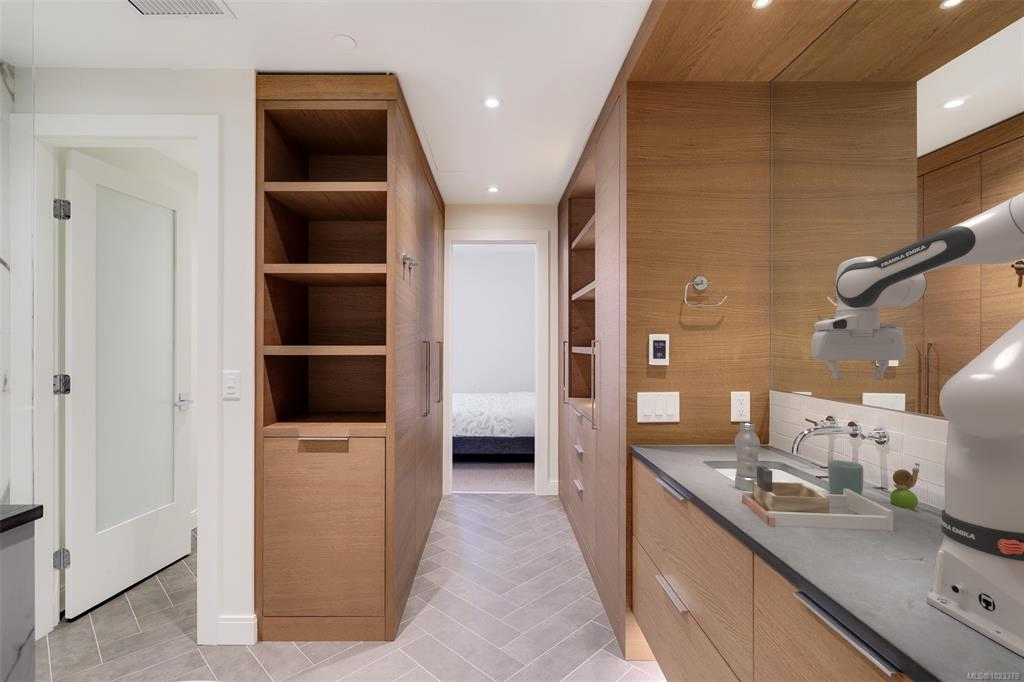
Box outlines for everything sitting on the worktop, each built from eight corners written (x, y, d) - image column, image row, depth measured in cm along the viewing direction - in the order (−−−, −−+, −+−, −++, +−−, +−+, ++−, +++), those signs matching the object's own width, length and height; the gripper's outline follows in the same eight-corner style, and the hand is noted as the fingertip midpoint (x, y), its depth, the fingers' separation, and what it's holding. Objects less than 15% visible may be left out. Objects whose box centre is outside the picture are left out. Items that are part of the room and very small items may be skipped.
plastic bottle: (764, 496, 127) (764, 425, 127) (738, 495, 128) (737, 424, 129) (756, 489, 133) (756, 421, 134) (731, 488, 135) (731, 420, 135)
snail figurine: (927, 513, 114) (927, 466, 114) (901, 513, 115) (901, 466, 115) (909, 506, 120) (909, 460, 120) (884, 506, 120) (884, 460, 120)
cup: (863, 507, 119) (863, 469, 119) (827, 501, 124) (827, 464, 124) (863, 499, 125) (863, 463, 125) (829, 493, 130) (828, 458, 130)
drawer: (829, 524, 104) (829, 476, 104) (772, 522, 106) (772, 475, 106) (801, 506, 116) (801, 463, 116) (751, 504, 117) (751, 461, 118)
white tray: (893, 536, 101) (893, 511, 101) (769, 531, 104) (769, 506, 104) (848, 510, 117) (848, 488, 117) (742, 506, 120) (742, 485, 120)
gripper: (893, 323, 115) (893, 378, 115) (807, 323, 117) (807, 377, 117) (912, 322, 109) (912, 380, 109) (821, 322, 111) (821, 379, 111)
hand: (857, 378), depth 113 cm, fingers open, 8 cm apart
